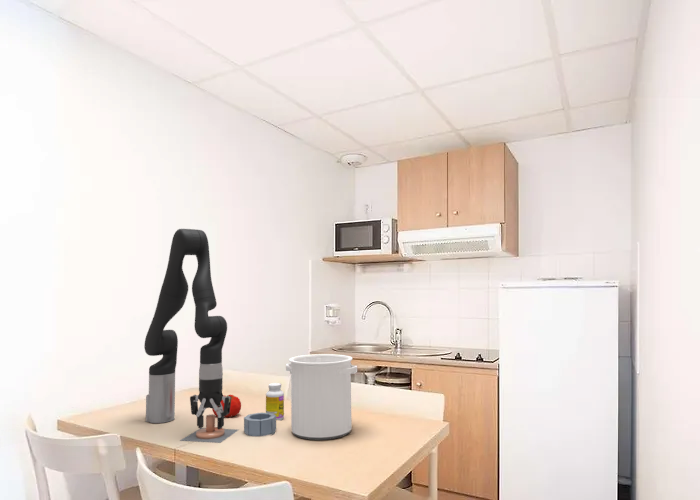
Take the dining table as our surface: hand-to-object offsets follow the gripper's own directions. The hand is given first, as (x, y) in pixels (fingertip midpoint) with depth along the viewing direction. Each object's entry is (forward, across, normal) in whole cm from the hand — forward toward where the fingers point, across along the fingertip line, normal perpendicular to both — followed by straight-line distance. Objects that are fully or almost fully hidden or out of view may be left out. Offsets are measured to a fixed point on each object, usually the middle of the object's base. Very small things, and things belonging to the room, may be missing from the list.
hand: (210, 427), depth 158 cm
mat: (+3, 0, 0) cm, 3 cm away
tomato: (+3, -6, +25) cm, 26 cm away
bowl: (+3, +15, +6) cm, 16 cm away
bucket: (+3, +35, +11) cm, 37 cm away
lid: (+2, 0, 0) cm, 2 cm away
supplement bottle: (+3, +14, +23) cm, 27 cm away
